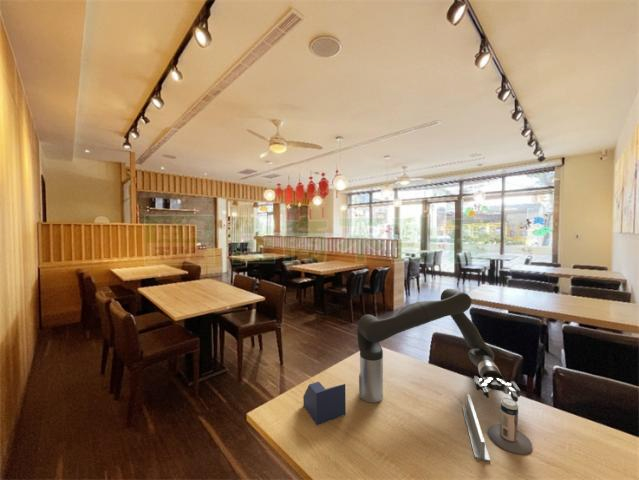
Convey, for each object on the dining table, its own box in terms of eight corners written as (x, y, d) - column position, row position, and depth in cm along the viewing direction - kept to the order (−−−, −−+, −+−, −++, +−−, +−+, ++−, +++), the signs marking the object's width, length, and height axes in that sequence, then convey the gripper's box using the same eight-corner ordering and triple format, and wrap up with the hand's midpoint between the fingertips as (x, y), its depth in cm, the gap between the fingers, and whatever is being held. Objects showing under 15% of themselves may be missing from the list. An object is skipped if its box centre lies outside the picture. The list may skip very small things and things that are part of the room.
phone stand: (330, 396, 114) (329, 368, 113) (345, 414, 103) (345, 383, 102) (303, 405, 108) (302, 376, 108) (316, 425, 98) (316, 393, 97)
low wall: (475, 459, 83) (475, 440, 82) (462, 408, 105) (462, 392, 105) (490, 462, 81) (490, 443, 81) (473, 410, 104) (474, 394, 104)
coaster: (492, 448, 86) (492, 446, 86) (483, 422, 98) (483, 420, 98) (538, 458, 83) (538, 456, 83) (523, 430, 94) (523, 428, 94)
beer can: (520, 443, 87) (521, 407, 87) (503, 441, 88) (504, 405, 88) (513, 432, 92) (514, 397, 91) (497, 430, 93) (498, 396, 92)
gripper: (470, 362, 116) (479, 384, 100) (510, 367, 111) (525, 391, 96) (470, 379, 116) (478, 403, 101) (509, 385, 111) (524, 411, 96)
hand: (501, 397), depth 98 cm, fingers open, 8 cm apart
